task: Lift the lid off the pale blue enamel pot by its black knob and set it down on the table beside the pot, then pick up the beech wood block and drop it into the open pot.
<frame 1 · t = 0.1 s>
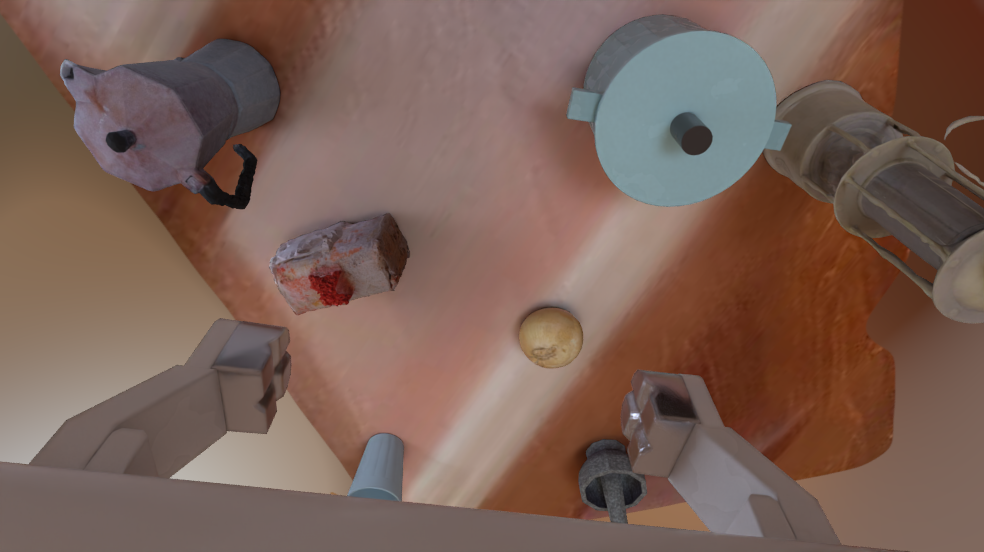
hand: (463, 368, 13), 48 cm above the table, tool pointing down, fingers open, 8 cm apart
moka pot: (242, 85, 57), on the table
pot: (650, 88, 56), on the table
lamp: (813, 118, 58), on the table
food item: (349, 243, 67), on the table
mortar and pestle: (606, 454, 87), on the table
cup: (386, 444, 86), on the table
onion: (549, 322, 73), on the table
pot lid: (682, 124, 47), point 11 cm above the table, touching pot
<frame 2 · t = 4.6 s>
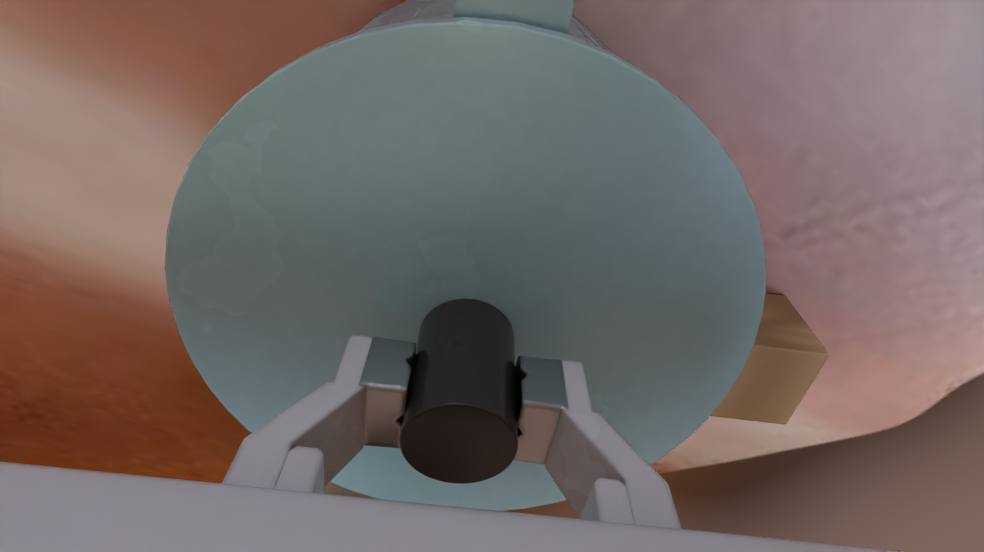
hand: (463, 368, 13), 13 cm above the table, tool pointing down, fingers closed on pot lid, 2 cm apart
block: (726, 324, 29), on the table
pot: (478, 159, 24), on the table
lamp: (432, 430, 34), on the table
pot lid: (467, 321, 15), point 12 cm above the table, touching gripper, pot
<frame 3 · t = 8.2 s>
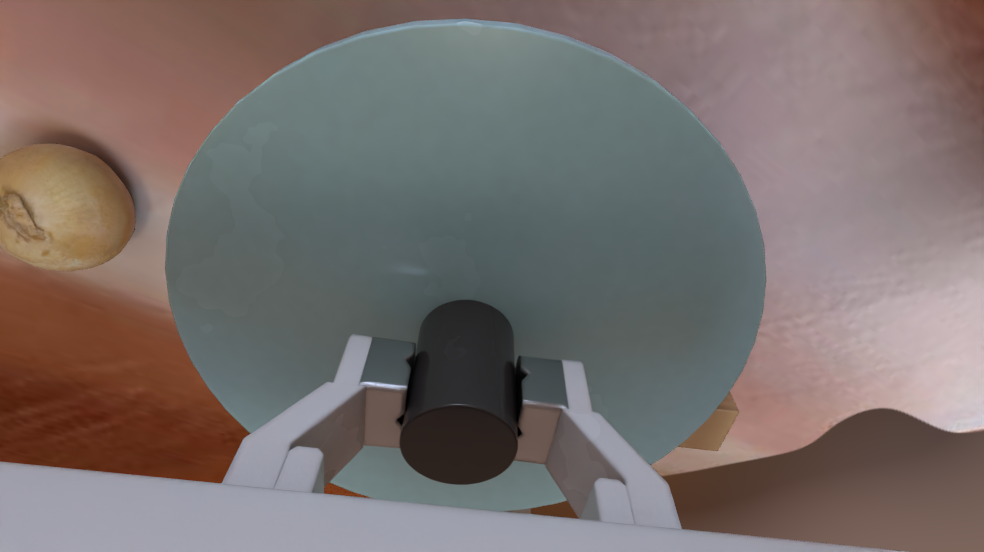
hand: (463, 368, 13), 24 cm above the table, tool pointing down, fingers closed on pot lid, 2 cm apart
block: (684, 387, 46), on the table
onion: (91, 188, 37), on the table
pot lid: (467, 322, 15), point 22 cm above the table, touching gripper
when the fingers open (3 cm above the table, at t = 11.9 s): pot lid drops 1 cm, point 1 cm above the table.
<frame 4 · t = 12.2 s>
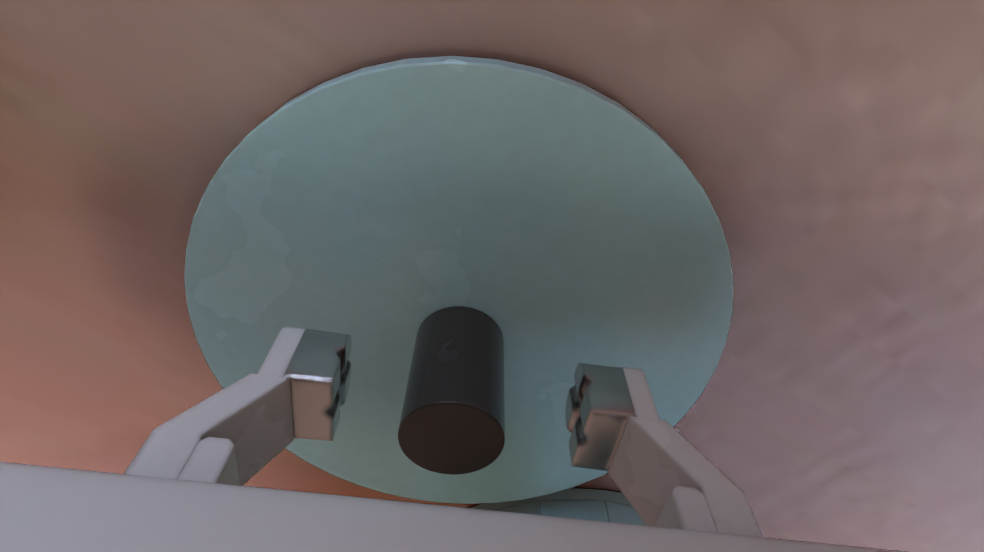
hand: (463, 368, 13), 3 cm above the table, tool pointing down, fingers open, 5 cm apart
pot lid: (461, 327, 16), point 1 cm above the table
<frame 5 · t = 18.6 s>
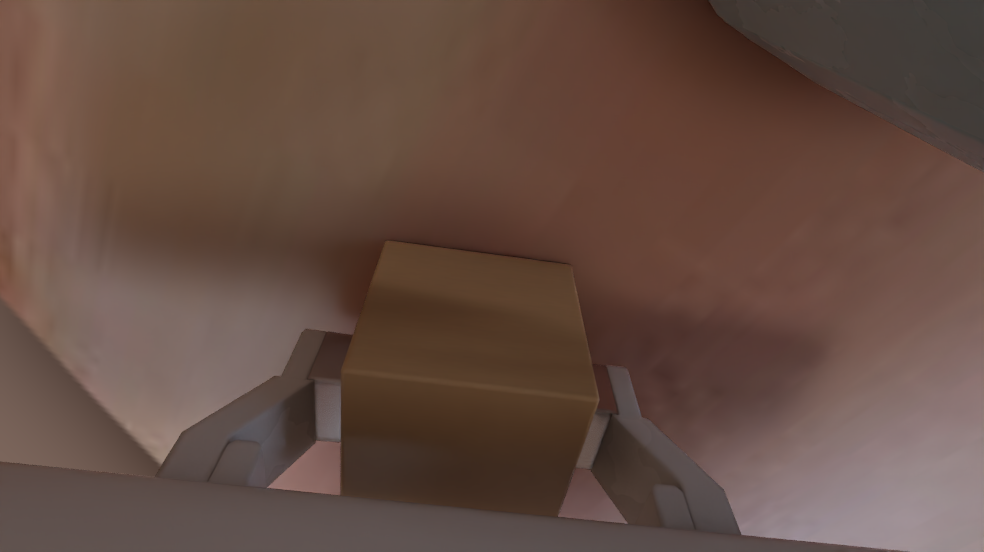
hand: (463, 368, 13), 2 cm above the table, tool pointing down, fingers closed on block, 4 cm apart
block: (468, 325, 14), on the table, touching gripper
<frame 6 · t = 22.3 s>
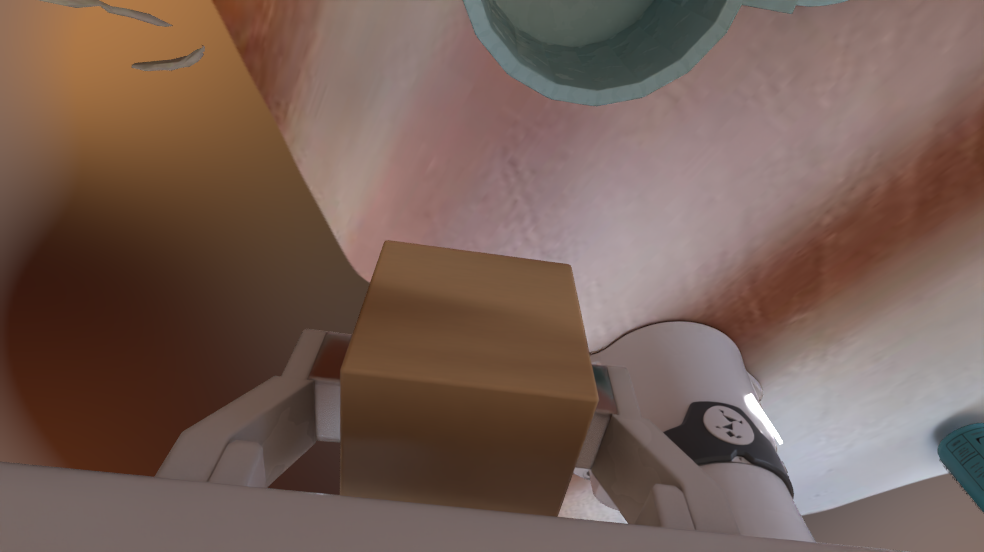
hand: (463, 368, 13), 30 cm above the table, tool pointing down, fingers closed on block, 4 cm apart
beverage bottle: (958, 429, 58), on the table
block: (467, 324, 14), point 29 cm above the table, touching gripper
when the fingers open (14 cm above the table, at t = 26.2 s): block drops 12 cm, resting on pot.
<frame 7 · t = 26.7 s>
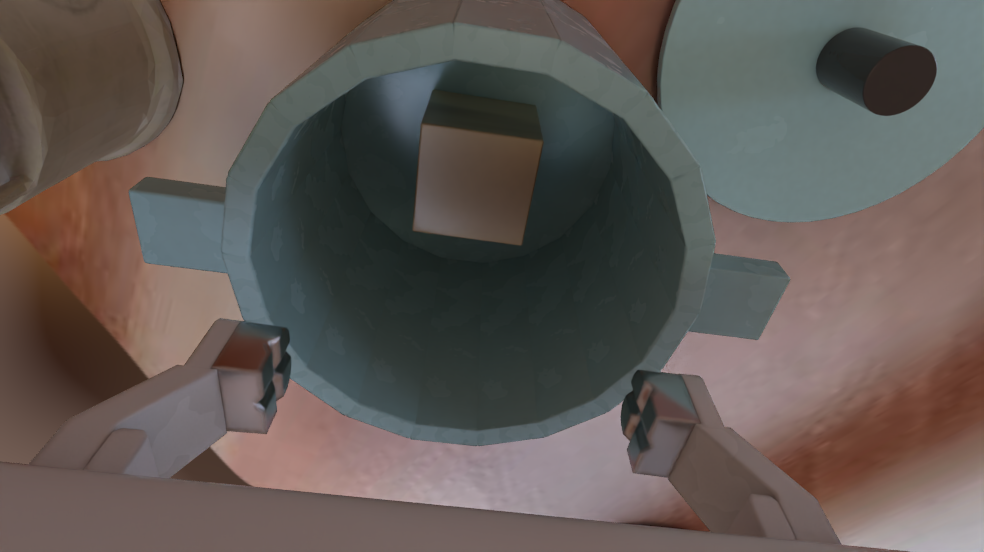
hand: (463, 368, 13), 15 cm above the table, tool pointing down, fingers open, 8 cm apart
block: (477, 146, 25), point 1 cm above the table, touching pot
pot: (478, 143, 26), on the table
lamp: (74, 72, 24), on the table
pot lid: (839, 56, 23), point 1 cm above the table
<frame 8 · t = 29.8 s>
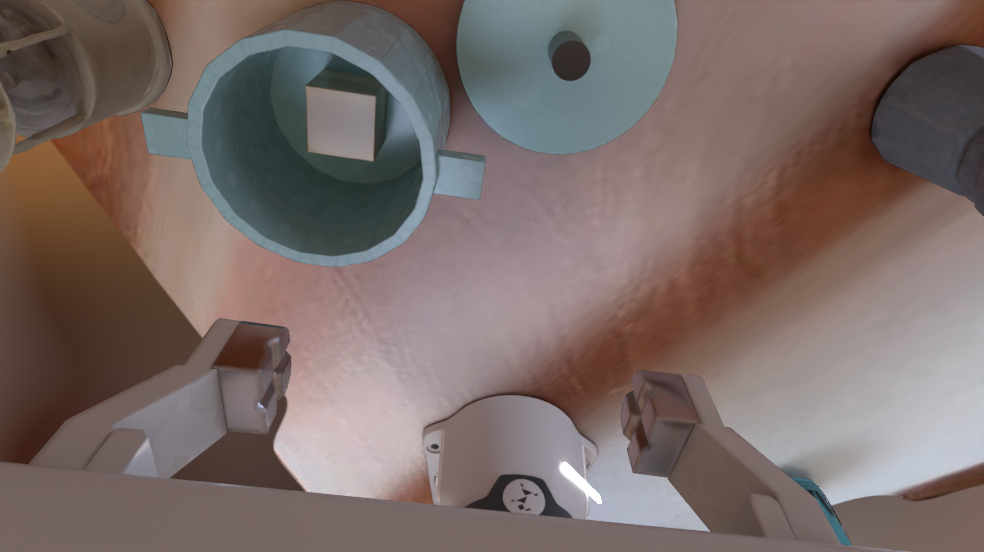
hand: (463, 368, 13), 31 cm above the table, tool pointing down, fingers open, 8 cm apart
beverage bottle: (783, 481, 64), on the table
moka pot: (926, 105, 41), on the table
block: (355, 105, 40), resting on pot
pot: (357, 103, 41), on the table
lamp: (106, 59, 39), on the table
pot lid: (564, 48, 38), point 1 cm above the table
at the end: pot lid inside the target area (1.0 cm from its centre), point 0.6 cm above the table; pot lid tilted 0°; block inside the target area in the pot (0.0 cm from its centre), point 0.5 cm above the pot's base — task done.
